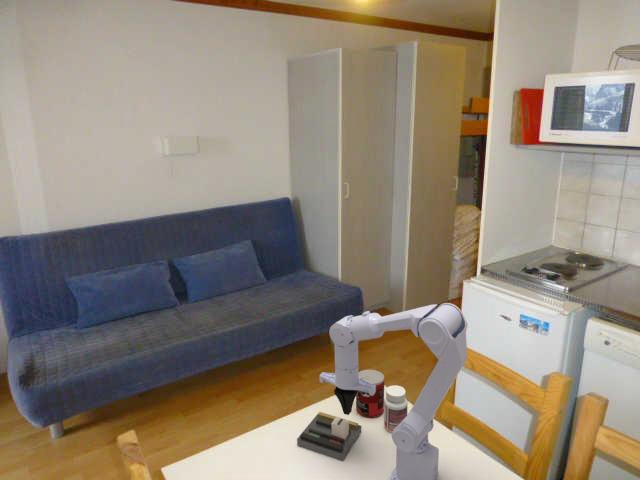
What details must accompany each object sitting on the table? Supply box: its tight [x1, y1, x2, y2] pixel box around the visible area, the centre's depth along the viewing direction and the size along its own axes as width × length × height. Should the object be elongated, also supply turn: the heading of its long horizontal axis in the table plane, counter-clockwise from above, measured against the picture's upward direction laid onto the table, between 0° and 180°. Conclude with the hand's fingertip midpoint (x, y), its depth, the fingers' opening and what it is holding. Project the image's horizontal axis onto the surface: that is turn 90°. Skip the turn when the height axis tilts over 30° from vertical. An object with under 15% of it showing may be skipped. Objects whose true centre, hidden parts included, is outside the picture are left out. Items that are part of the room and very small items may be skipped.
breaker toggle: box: [331, 416, 350, 440], centre depth 122 cm, size 4×3×4 cm
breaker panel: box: [296, 411, 362, 462], centre depth 124 cm, size 13×12×3 cm
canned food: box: [355, 369, 385, 419], centre depth 134 cm, size 8×8×11 cm
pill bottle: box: [383, 385, 408, 434], centre depth 127 cm, size 6×6×11 cm
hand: (347, 412), depth 119 cm, fingers closed
